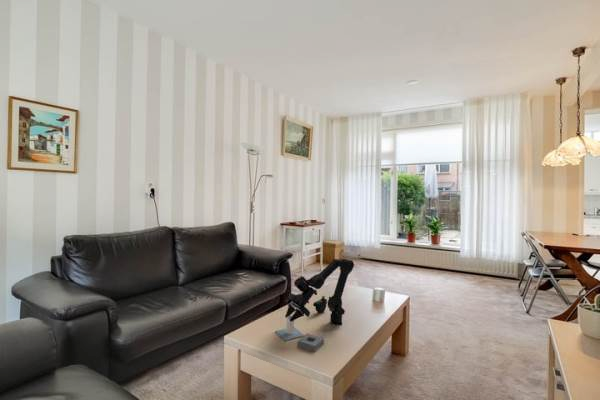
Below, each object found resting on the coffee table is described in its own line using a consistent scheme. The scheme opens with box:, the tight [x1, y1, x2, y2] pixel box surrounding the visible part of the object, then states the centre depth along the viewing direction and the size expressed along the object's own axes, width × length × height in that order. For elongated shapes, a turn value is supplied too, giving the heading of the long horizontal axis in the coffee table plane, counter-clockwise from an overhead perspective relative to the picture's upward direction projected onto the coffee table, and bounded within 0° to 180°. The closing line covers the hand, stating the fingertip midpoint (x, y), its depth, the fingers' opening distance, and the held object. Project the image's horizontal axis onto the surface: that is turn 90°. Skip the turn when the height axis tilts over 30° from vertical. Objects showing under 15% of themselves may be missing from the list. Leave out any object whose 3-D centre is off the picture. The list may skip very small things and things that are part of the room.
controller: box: [312, 295, 328, 314], centre depth 198 cm, size 4×12×10 cm, turn 142°
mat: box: [274, 326, 305, 342], centre depth 166 cm, size 12×12×1 cm
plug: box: [285, 314, 295, 334], centre depth 166 cm, size 3×3×9 cm
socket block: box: [297, 332, 325, 353], centre depth 154 cm, size 10×10×3 cm
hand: (288, 319), depth 165 cm, fingers open, 5 cm apart
